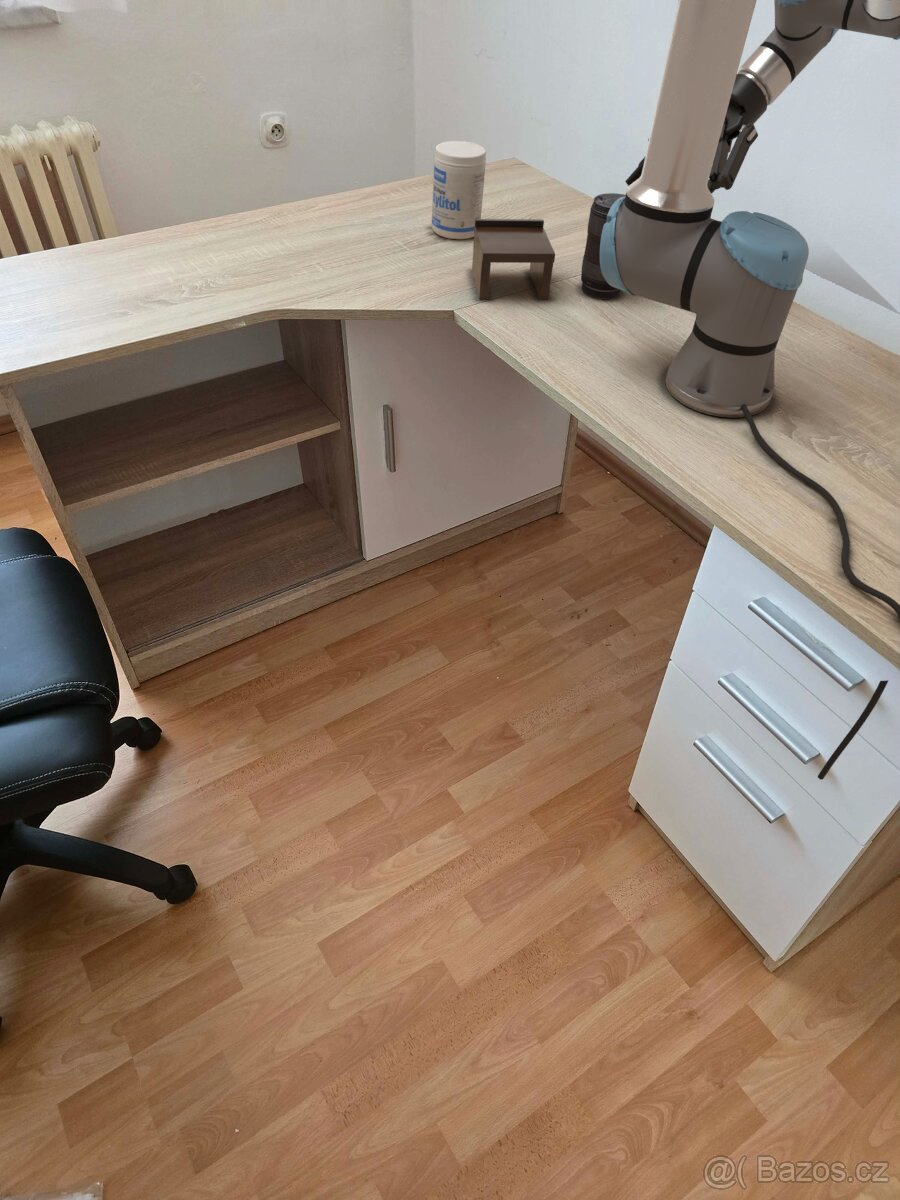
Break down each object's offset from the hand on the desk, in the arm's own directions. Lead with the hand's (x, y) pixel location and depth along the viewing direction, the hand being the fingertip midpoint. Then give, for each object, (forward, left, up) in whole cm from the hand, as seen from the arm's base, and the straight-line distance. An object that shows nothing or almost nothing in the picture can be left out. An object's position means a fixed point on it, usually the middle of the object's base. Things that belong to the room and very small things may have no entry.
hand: (652, 201), depth 130 cm
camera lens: (-3, +7, -14) cm, 16 cm away
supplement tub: (+23, +30, -14) cm, 41 cm away
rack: (-1, +23, -14) cm, 27 cm away
